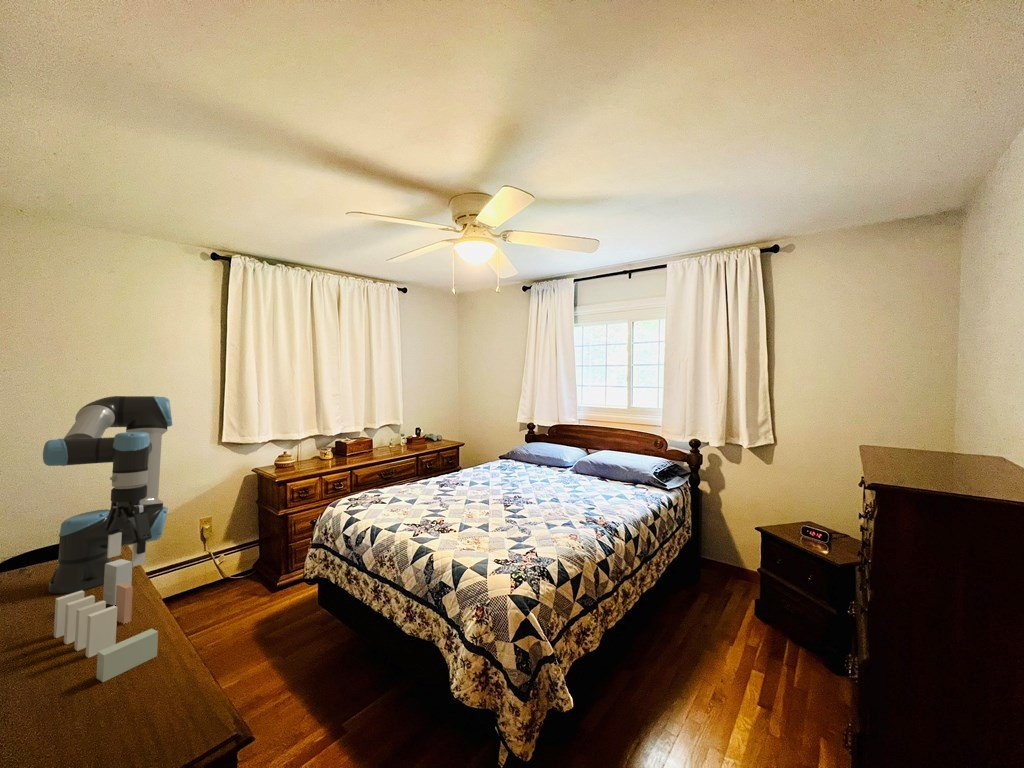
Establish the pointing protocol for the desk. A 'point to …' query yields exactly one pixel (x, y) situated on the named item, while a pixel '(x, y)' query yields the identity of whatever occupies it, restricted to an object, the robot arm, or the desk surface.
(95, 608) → the domino
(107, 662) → the end block
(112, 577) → the skincare box
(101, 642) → the domino
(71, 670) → the desk surface
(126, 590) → the domino
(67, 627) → the domino
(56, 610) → the domino
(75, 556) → the robot arm
